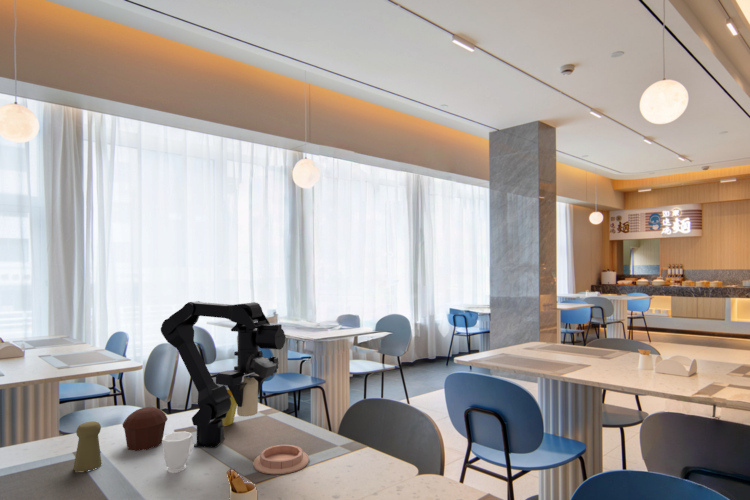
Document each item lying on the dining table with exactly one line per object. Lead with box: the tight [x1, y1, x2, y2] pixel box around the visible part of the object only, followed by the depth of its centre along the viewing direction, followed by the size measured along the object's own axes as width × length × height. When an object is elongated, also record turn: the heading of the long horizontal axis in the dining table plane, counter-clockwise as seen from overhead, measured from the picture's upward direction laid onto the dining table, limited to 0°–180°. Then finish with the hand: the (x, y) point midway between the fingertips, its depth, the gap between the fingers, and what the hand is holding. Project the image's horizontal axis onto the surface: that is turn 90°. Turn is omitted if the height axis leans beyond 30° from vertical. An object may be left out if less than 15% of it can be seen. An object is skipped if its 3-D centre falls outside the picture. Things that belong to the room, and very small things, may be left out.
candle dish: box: [253, 444, 310, 475], centre depth 116 cm, size 14×14×2 cm
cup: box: [161, 430, 194, 474], centre depth 113 cm, size 7×10×8 cm
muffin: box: [122, 406, 168, 452], centre depth 127 cm, size 12×11×10 cm
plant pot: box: [221, 388, 237, 427], centre depth 145 cm, size 10×10×10 cm
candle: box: [236, 376, 259, 417], centre depth 125 cm, size 6×6×10 cm
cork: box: [73, 420, 103, 471], centre depth 113 cm, size 6×6×11 cm
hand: (247, 403), depth 125 cm, fingers closed on candle, 5 cm apart
